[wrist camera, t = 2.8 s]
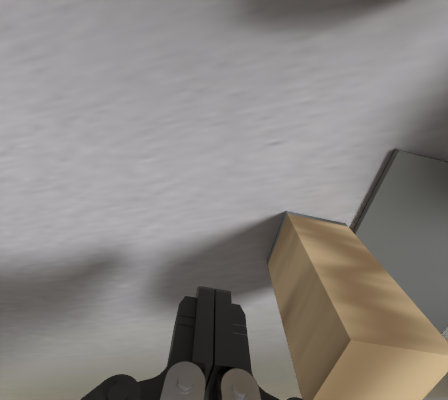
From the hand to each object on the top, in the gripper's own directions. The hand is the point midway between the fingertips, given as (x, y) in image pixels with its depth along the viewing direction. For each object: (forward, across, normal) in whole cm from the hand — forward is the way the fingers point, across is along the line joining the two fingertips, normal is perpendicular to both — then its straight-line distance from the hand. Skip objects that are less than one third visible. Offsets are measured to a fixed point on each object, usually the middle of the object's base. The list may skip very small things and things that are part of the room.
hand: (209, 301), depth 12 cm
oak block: (+7, -7, 0) cm, 10 cm away
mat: (+7, -16, 0) cm, 18 cm away
